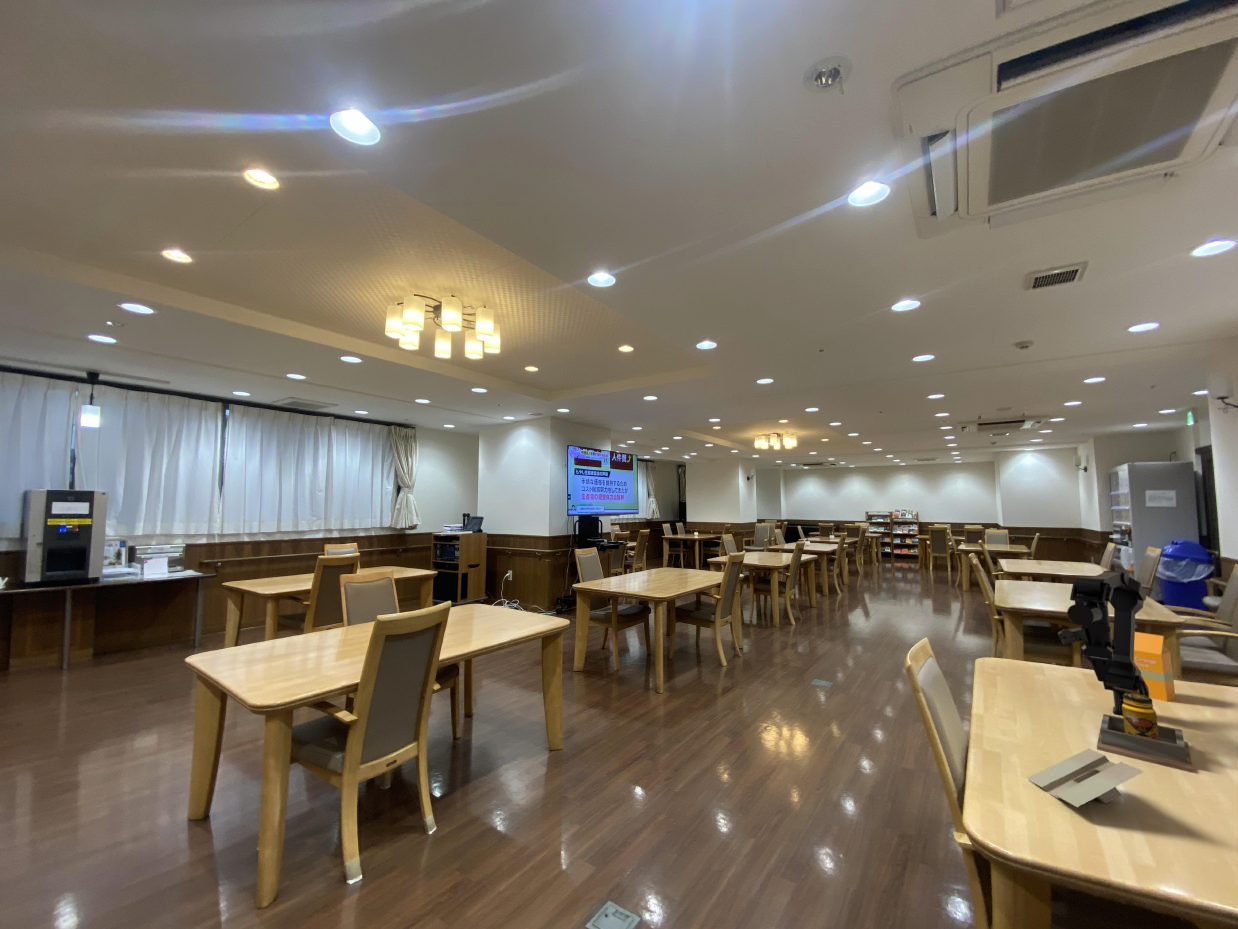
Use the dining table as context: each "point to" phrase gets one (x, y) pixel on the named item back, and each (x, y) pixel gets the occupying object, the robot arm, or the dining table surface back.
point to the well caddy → (1145, 744)
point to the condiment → (1139, 716)
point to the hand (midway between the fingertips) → (1101, 677)
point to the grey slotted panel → (1085, 778)
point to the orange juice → (1154, 665)
